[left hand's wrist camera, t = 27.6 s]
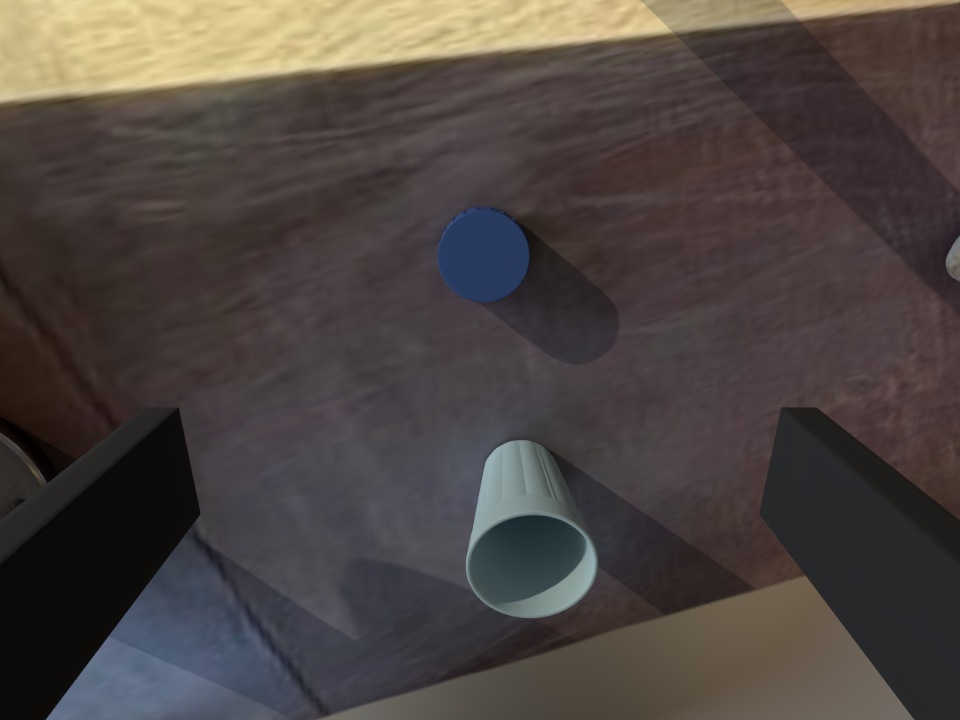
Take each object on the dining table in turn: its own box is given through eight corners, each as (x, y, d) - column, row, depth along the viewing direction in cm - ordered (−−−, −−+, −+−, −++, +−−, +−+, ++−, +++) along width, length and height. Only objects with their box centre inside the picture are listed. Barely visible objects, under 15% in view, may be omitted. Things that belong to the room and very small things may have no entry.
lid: (451, 194, 36) (450, 197, 34) (539, 220, 37) (543, 225, 35) (429, 281, 38) (426, 289, 36) (513, 304, 39) (515, 313, 37)
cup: (520, 532, 45) (532, 639, 35) (448, 474, 43) (438, 570, 33) (591, 470, 43) (624, 566, 33) (519, 407, 41) (531, 488, 31)
